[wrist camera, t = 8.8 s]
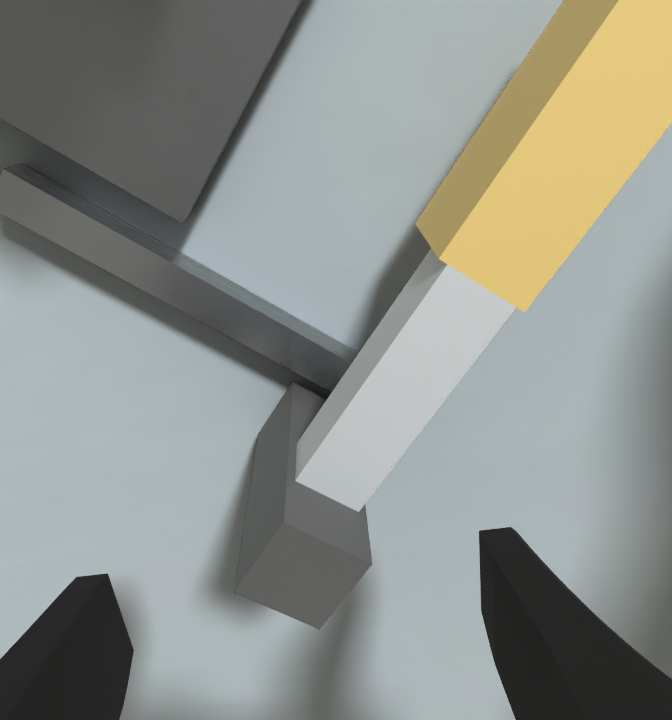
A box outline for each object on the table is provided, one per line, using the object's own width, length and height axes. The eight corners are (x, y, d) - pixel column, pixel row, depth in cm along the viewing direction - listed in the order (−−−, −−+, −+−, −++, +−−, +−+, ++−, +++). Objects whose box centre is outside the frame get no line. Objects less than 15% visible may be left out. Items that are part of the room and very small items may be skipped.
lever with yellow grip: (630, 26, 14) (832, -4, 9) (317, 464, 19) (319, 629, 13) (561, -29, 14) (728, -98, 8) (258, 434, 18) (233, 592, 13)
